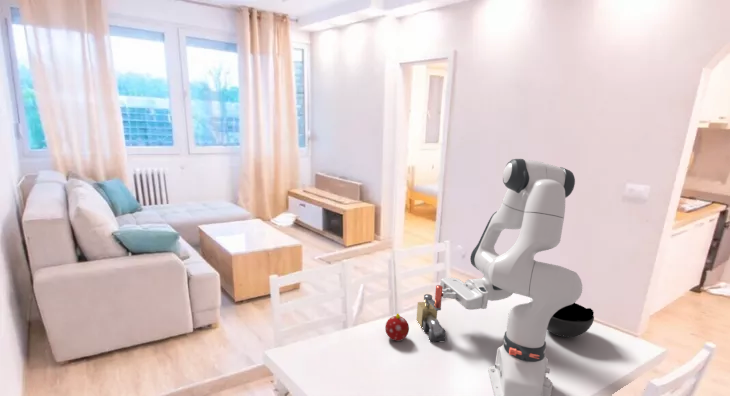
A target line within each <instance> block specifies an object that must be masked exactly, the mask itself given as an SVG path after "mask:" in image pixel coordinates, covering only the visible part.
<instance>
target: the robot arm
mask: <svg viewBox="0 0 730 396" xmlns="http://www.w3.org/2000/svg"><path fill="white" fill-rule="evenodd" d="M502 182H503V184H504V185H505V187H506V188H507V189H506V192H505V193H504V196H503V200H502V202H501V205H500V207H499V209H498V210H496V211H495V212H494V213H492V215H491V216H490V218H489V220H488V222H487V223H486V225H485V228H484V230H483V232H482V234H481V237H480V239H479V241H478V243H477V244H476V245H475V247H474V248H473V250H472V252H471V254H470V263H471V265H472V266H473V267H474V268H475V269H476V270H478V271H480V273H481V274H482V276H483V277H482V278H481V277H480V278H470V279H467V280H465V282H464V281H462V280H461V279H460V278H456V277H443V278H441V279H440V284H439V285H441V286H442V287H443V289H442V298H444V299H446V298H447V299H451V300H455V301H457V302H458V303H459V304H460V305H461V306H462V307H463V308H465V309H467V310H469V311H470V310H479V309H481V310H484V309H485V310H486V309H487V307H488V304H489V303H488V302H489V301H491V302H493V301H494V302H495V301H500V300H505V299H508V298H509V297H511V296H512V295H513V294H516V295H519V296H524V297H527V298H529V297H530V298H532V299H533V301H531V302H529V303H528V302H525V303H524V302H523V303H519V304H517V305H514V306H513V307H512V308H511V309H510V310H509V311H508V317H507V323H506V330H505V332H504V335H503V344H502V345H501V346H499V347H498V348H497V349H496V357H495V364H494V365H491V366H489V367H488V371H487V372H488V376H489V379H490V383H491V386H492V391H493V395H494V396H552V393H553V382H552V381H551V380H550V379H549V377H548V376H547V374H549V373H550V372H551V371H550V368H548V364H549V358H547V356H546V352H547V350H546V349H547V345H546V344H547V342H546V336H547V332H548V330H547V327H548V324H549V321H550V319H551V317H552V316H553V315H554V314H555V313H556V312H557V311H558V310H560V309H561V308H563V307H565V306H568V305H571V304H573V303H576V302H577V301H578V300H579V299H580V298H581V295H582V293H583V283H582V279H581V277H580V275H579V274H578V273H577V272H576V271H573V270H572V269H569V268H566V267H564V266H561V265H556V264H552V263H547V262H542V261H538V260H535V259H534V257H535V256H536V254H538V253H541V252H543V251H545V252H546V251H549V250H552V249H554V248H556V247H557V246H558V245H559V244H560V243H561V237H562V232H563V226H564V220H565V212H566V198H568V197H569V196H570V195H571V194H572V193H573V191H574V188H575V184H576V178H575V175H574V173H573V172H572V171H571V170H569V169H568V168H565V167H562V166H555V165H553V164H549V163H545V162H542V161H537V160H530V159H523V158H512V159H511V160H509V161H508V162H507V163H506V164H505V167H504V169H503V173H502ZM505 229H506V230H519V234H518V237H517V239H516V240H515V242H514V244H512V245H511V247H510V248H509V249H508V250H507V251H505V252H503V253H502V254H499V253H497V251H496V250H495V246H496V243H497V241H498V239H499V237H500V235H501V233H502V232H503V231H504V230H505Z"/></svg>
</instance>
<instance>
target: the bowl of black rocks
mask: <svg viewBox="0 0 730 396" xmlns="http://www.w3.org/2000/svg"><path fill="white" fill-rule="evenodd" d="M594 313H595V312H594V310H593V309H592V308H591V307H587V308H586V307H584V306H582V305H581V304H579V303H576V302H575V303H573V304H571V305H568V306H565V307H563V308H561V309H560V310H558V311H557V312H556V313H555V314H554V315H553V316H552V317H551V319H550V321H549V324H548V327H547V331H549V332H550V333H552V334H554V335H556V336H558V337H562V338H576V337H578V336H579V337H580V336H581V335H584V334H585V333H586V332H587V331H588V330H589V329H590V328H591V326H593V324H594V320H595V316H594Z"/></svg>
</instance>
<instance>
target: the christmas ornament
mask: <svg viewBox="0 0 730 396" xmlns="http://www.w3.org/2000/svg"><path fill="white" fill-rule="evenodd" d="M384 329H385V332H386V334H387V335H386V336H387V337H388V338H389V339H391V340H393V341H397V342H399V341H403V340H404V339H406V337H407V336H408V335H409V332H410V326H409V323H408V321H407V320H406V319H405V318H404V317H403V316H400V314H399V313H396V315H394V316H391V317H390V318H389V319H387V321H386V323H385V328H384Z"/></svg>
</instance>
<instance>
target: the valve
mask: <svg viewBox="0 0 730 396" xmlns="http://www.w3.org/2000/svg"><path fill="white" fill-rule="evenodd" d="M416 309H417V310H416V320H417V321H418V322H417V321H416V322H417V324H418V323H419V324H420V326H421V327H420V326H419V327H420V329H421V328H422V327H423V328H422V329H423V330H424V331H423V330H422V331H423V333H424V332H429V333H428V337H427V338H429V339H428V341H429V340H430V341H429V343H431V342H432V343H437V342H436V341H445V342H446V338H447V337H446V336H447V331H446V330H445V328H444V327H443V326H442V325H441V324H440V322H439V320H438V319H437V317H438V311H436V310H435V309H434V308H433V307H432V306H431V305H430V304H429V303H427V302H425V301H419V302H417V308H416ZM419 324H418V325H419Z"/></svg>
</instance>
